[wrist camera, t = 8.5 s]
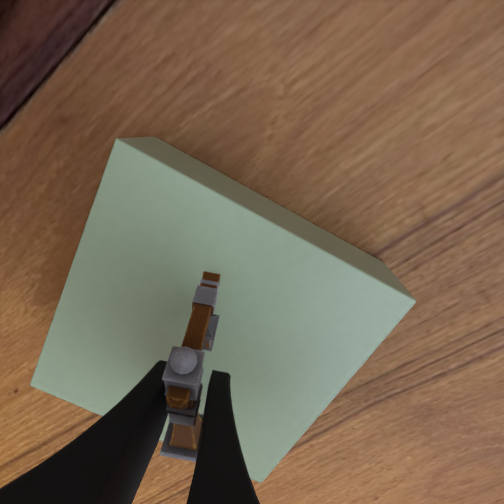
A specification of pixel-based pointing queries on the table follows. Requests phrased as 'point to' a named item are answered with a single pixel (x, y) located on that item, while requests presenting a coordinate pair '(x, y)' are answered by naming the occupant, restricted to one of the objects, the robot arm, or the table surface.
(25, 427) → the table surface
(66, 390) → the block
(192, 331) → the wooden post with brackets
